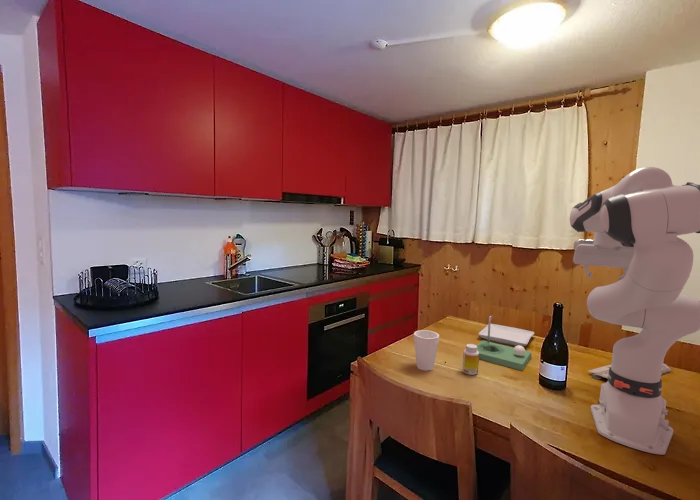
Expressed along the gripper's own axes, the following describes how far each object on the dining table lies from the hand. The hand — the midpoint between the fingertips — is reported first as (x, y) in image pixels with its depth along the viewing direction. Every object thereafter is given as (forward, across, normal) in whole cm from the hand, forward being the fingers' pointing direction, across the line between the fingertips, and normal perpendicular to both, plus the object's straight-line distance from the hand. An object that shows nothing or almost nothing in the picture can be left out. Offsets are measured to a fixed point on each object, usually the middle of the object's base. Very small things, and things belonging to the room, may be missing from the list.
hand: (604, 279), depth 126 cm
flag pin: (+34, -39, +2) cm, 52 cm away
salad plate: (+37, -36, +20) cm, 56 cm away
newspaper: (+37, +10, +13) cm, 41 cm away
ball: (+32, -25, -5) cm, 41 cm away
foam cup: (+37, -52, -35) cm, 72 cm away
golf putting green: (+37, -32, -5) cm, 49 cm away
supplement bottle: (+37, -37, -27) cm, 59 cm away
